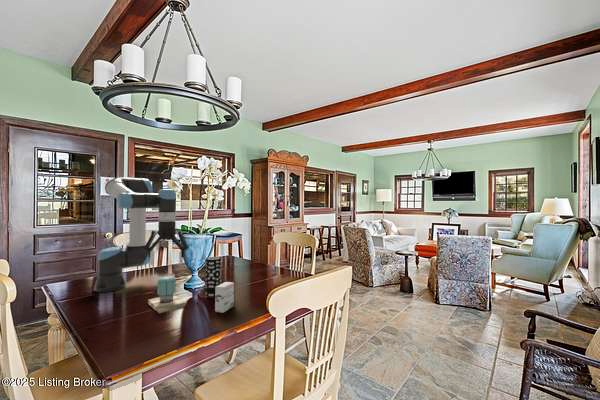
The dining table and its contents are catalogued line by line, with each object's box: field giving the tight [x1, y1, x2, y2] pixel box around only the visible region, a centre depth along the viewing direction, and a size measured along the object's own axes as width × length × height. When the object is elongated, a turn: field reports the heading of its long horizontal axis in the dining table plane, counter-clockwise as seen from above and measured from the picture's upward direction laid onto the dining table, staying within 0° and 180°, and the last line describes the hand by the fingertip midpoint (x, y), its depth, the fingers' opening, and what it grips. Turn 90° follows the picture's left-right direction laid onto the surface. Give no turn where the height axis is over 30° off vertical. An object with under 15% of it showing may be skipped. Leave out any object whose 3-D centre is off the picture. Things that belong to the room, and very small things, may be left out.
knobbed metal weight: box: [159, 294, 173, 303], centre depth 135 cm, size 6×6×6 cm
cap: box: [157, 275, 177, 296], centre depth 135 cm, size 8×8×7 cm
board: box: [147, 293, 186, 314], centre depth 135 cm, size 16×12×2 cm
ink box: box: [214, 281, 235, 314], centre depth 131 cm, size 9×5×12 cm, turn 158°
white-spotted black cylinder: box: [204, 256, 222, 299], centre depth 149 cm, size 8×8×20 cm
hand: (166, 264), depth 135 cm, fingers open, 13 cm apart
